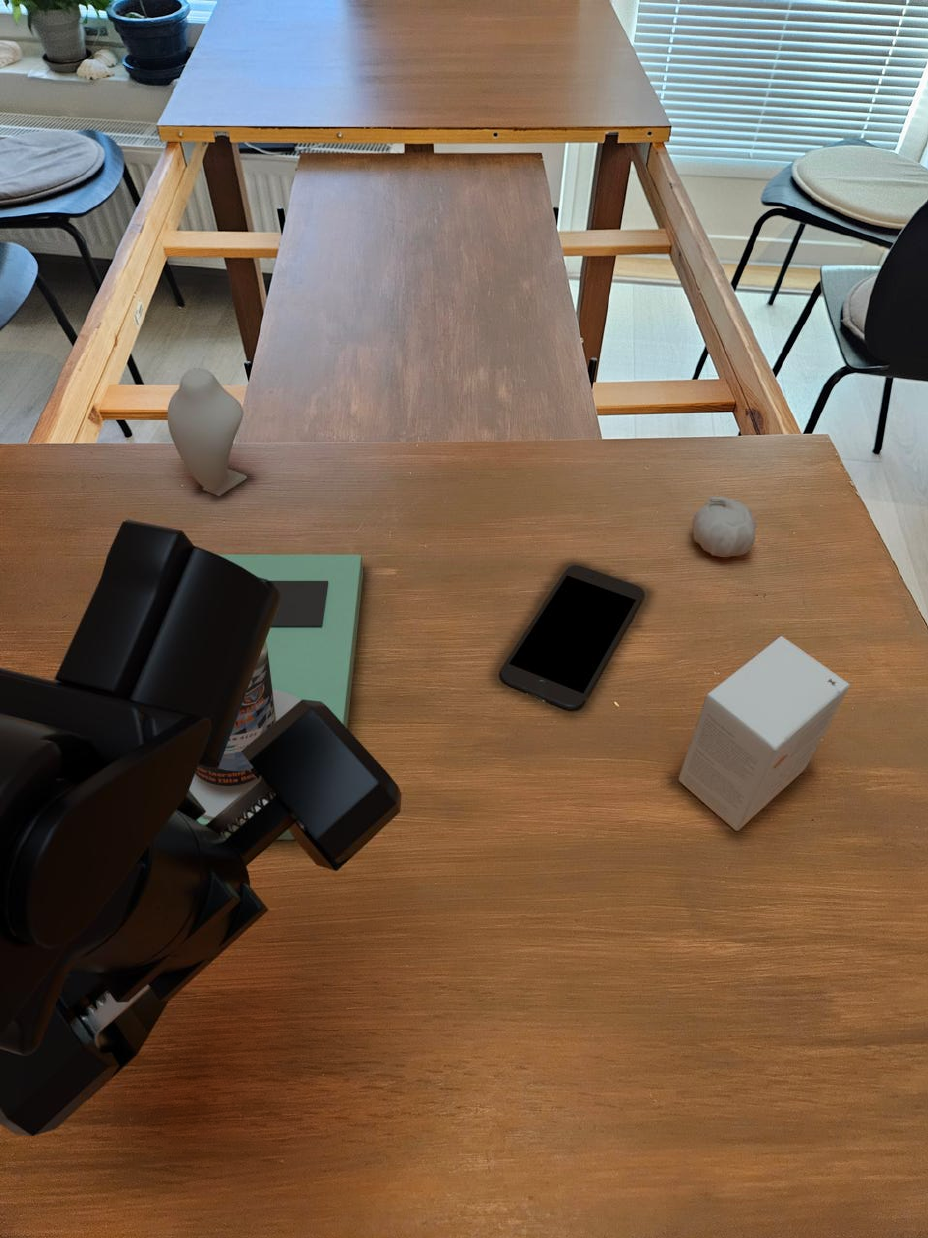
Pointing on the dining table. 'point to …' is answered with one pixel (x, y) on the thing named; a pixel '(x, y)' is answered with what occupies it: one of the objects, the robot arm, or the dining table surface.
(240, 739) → the beverage can
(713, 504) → the garlic
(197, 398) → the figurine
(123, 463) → the dining table surface
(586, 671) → the smartphone
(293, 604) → the scale
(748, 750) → the small box
